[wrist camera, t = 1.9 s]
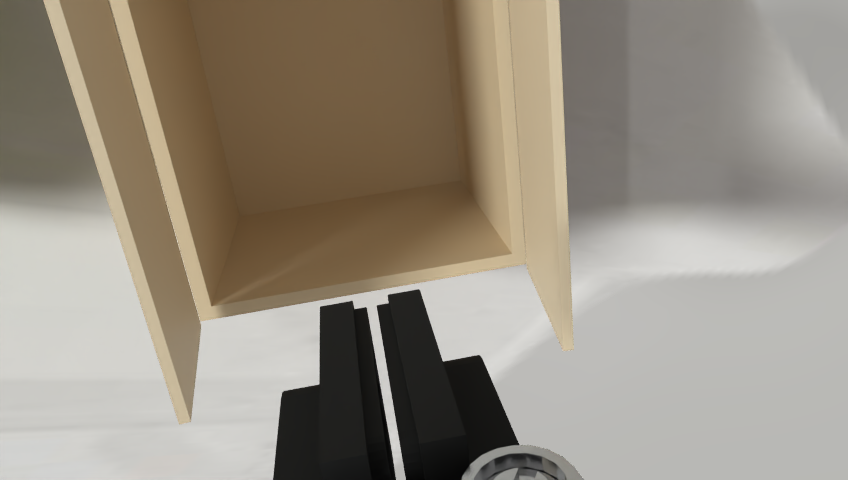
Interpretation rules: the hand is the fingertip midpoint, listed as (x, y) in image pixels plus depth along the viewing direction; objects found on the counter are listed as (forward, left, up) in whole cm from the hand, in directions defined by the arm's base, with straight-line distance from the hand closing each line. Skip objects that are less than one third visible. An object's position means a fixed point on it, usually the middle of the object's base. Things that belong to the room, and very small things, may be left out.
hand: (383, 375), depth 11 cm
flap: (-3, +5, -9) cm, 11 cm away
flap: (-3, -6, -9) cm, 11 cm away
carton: (-3, 0, -23) cm, 23 cm away
